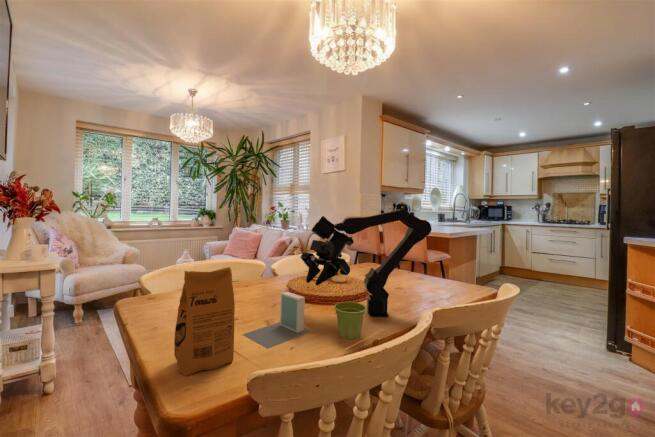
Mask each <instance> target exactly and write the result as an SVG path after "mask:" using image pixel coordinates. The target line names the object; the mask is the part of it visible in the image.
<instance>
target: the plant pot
mask: <svg viewBox="0 0 655 437" xmlns="http://www.w3.org/2000/svg"><path fill="white" fill-rule="evenodd" d="M333 308H334V310H335V313H336V318H337V319H336V320H337V329H338V335H339V337H340V338H343V339H347V340H355V339H359V338H360V337H361V333H362V332H361V331H362V325H363V320H364V315H365V313H366V312H367V305H365V304H363V303H361V302H360V303H359V302H355V301H343V302H338V303H335V305H334V307H333Z"/></svg>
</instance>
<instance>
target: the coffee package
mask: <svg viewBox="0 0 655 437" xmlns="http://www.w3.org/2000/svg"><path fill="white" fill-rule="evenodd" d="M183 279H184V283H183V284H182V285H183V286H182V290H181V295H180V298H179V305H178V308H177V316H176V324H175V331H174V347H173V348H174V351H173V352H174V353H173V354H174V357H175V360H176V363H177V365H178V372H179V373H180V374H182V375H183V376H186V377H187V376H190V375H193V374H196V373H198V372H200V371H212V370H217V369H218V368H220V367H222V366H225V365H226V364H229V363H232V362H233V361H234V355H235V354H234V353H235V352H234V350H235V348H234V347H235V311H236V310H235V293H234V285H233V274H232V269H231V267H230V266H227V267H223V268H220V269H216V270H212V271H195V270H192V271H191V270H190V271H188V270H184V277H183Z"/></svg>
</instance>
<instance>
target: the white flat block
mask: <svg viewBox="0 0 655 437" xmlns="http://www.w3.org/2000/svg"><path fill="white" fill-rule="evenodd" d="M305 298H306V297H305V296H304V295H303V296H302V295H299V294H296V293H292V292H290V291H285V292H281V293H280V317H279V318H280V319H279V320H280V321H279V322H280V325H281V326H284V327H286V328H288V329H290V330H293V331H295V332H297V333H298V332H301V331H303V330H304V328H305V304H306V300H305Z"/></svg>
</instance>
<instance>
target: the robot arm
mask: <svg viewBox="0 0 655 437" xmlns="http://www.w3.org/2000/svg"><path fill="white" fill-rule="evenodd" d="M398 221H399V222H400V223H402V224H403V225H405V226H406V227H407V229H406V232H405V234H404V237H403V238H402V240H401V241H399V243H398V244H397V245H396V247H394V249H393V250H392V251H391V253H390V254H389V255H388V256H387V257H386V258H385V259H384V261H383V262H382V263H381V264H380V266H378V267H377V268H375V269H374V268H373V267H371V268H370V269H369V271H368V272H367V273H366V274H364V276H365V277H364V279H363V284H364V287H365V289H366V290H367V292H368V293H369V294H368V299H366V307H367V309H366V312H367V313H368V315H369V316H370V317H389V316H390V314H389V313H388V301H389V300H388V299H389V296H390V294H389V292H388V291H387V290H386V288H385V285H386V284H387V282H388V279H389V276H390V275H391V273H393V271H394V270H395V269H396V267H397V266H398V265H399V264H400V262H402V260H403V259H404V258H405V257H406V255H407V254H408V253H409V252H410V251H411V249H412V248H413V247H414V246H415V245H416V244H418V243H419V242H421V241H423V240H425V238H427V237H428V236H429V235H430V233H431V232H432V225H431V223H430V222H429V221H428V220H425V219H420V218H418V216H415V215H414V214H411V213H410V212H408V211H407V210H406V209H403V208H401V209H400V208H398V209H396V210H392V211H388V212H382V213H377V214H374V215H369V216H356V217H355V216H353V217H346V218H344V219H343V220H342V222H336V223H335V224H334V223H332V222H331V221H330V220H329V219H328V218H326V217H325V216H324V215H322V216H321V217H320V218H319V220H318V221H317V222H316V223H315V224H314V225H313V227H312V228H311V230H310V231H311V232H312V233H313V234H315V235H316V236H317V237H319V239H322V240H323V241H322V240H318V239H317V240H315V239H313V240H312V241H311V244H310V247H309V249H310V250H311V251H314V252H316V253H315V255H314V253H313V252H307V251H305V252H302V254H301V256H300V259H301V260H302V262H303V263H304V264H305V266H306V267H308V271H307V275H306V276H307V277H306V280H305V282H306V284H310V283H311V281H313V280H314V279H315V278H316V277H317V275H318V274H319V276H318V277H317V279H316V281H315V286H320V285H321V284H323V283H325V282H326V281H328V280H329V279H331V278H333V277H336V276H338V275H339V273H340V275H341V276H349V274H350V272H351V267H350V265H349V264H348V262H347V260H346V259H345V258H342V257H343V254H342V252H343V250H344V248H345V247H346V246H348V247H350V246H353V244H354V239H353V236H349V235H354V234H357V233H360V232H362V231H364V230H365V229H368V228H370V227H376V226H379V225H380V226H382V225H384V224H391V223H394V222H398ZM344 232H345V233H346V234H345V233H344ZM325 239H326V240H325ZM324 240H325V241H324ZM319 266H323V267H322V268H323V269H322V271H321V269H320V268H319ZM338 272H339V273H338Z"/></svg>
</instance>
